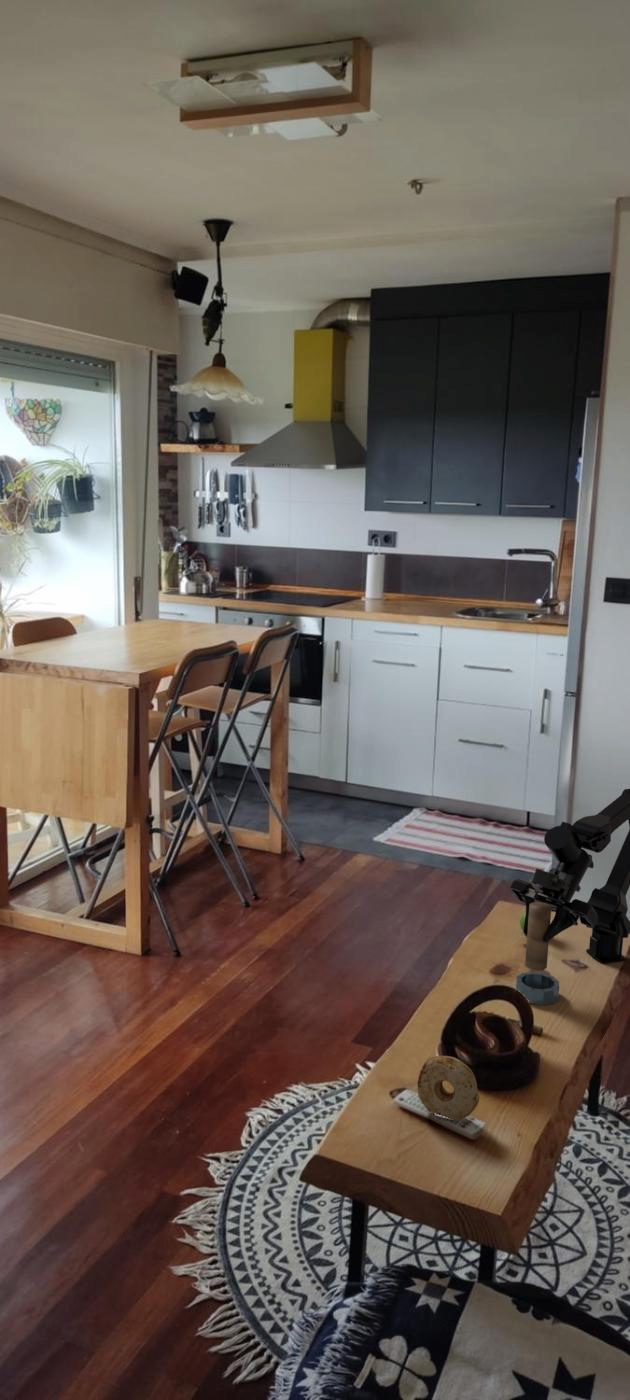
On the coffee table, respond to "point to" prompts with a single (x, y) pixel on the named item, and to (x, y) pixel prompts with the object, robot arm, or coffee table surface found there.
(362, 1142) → the coffee table surface
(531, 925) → the walnut shaft
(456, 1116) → the stone disc
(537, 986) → the metal collar
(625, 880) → the robot arm
